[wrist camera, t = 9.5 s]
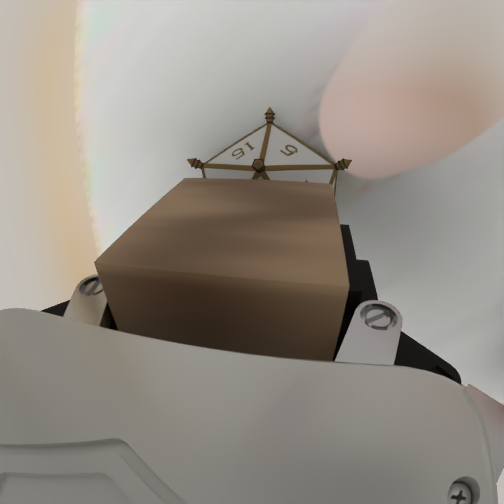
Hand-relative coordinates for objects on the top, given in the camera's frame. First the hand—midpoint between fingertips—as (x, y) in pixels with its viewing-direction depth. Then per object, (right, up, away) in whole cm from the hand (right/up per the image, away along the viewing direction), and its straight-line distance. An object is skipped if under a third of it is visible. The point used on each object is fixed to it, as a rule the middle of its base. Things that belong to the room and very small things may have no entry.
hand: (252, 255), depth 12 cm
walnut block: (0, 0, +1) cm, 1 cm away
